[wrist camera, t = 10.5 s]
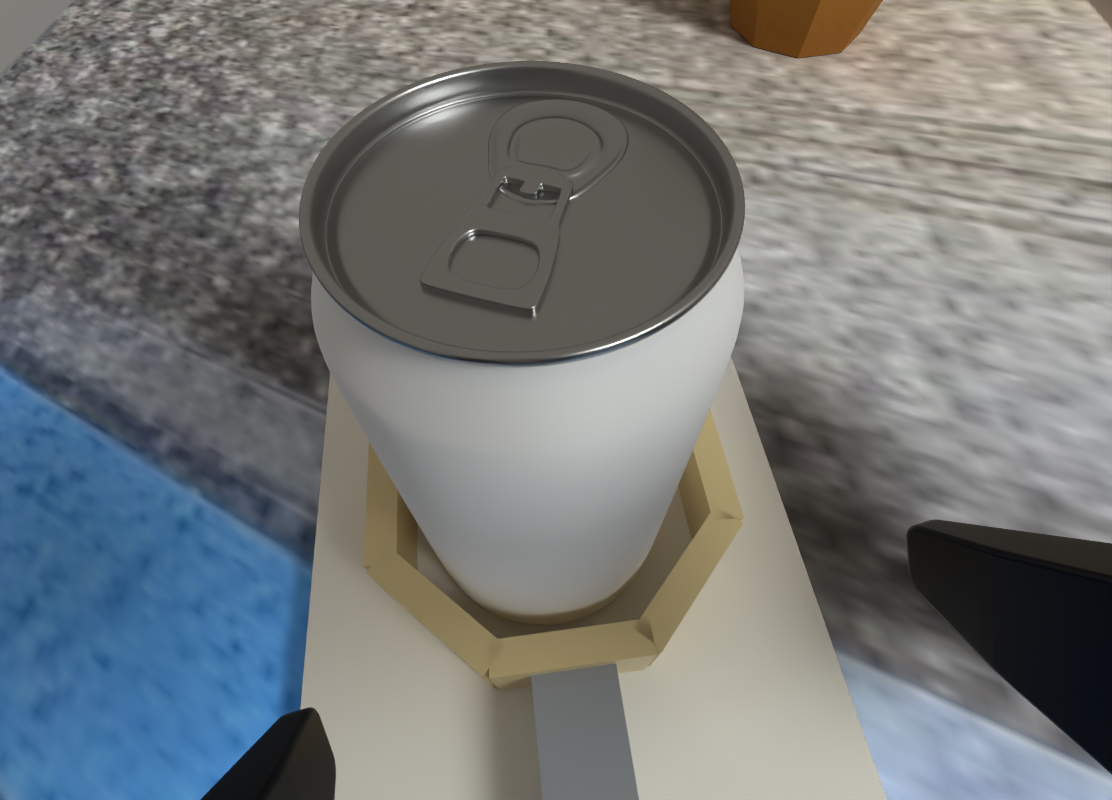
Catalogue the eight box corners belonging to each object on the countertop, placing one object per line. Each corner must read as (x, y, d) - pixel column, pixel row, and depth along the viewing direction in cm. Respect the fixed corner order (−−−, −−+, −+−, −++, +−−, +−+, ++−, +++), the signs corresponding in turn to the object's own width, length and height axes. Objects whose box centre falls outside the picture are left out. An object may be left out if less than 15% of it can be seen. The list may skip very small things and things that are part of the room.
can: (672, 452, 19) (806, 83, 9) (622, 662, 16) (741, 473, 5) (483, 400, 20) (401, 17, 10) (399, 587, 17) (144, 310, 6)
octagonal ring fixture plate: (954, 1052, 12) (1077, 1142, 9) (278, 1178, 12) (179, 1320, 9) (675, 228, 26) (690, 157, 23) (349, 260, 25) (319, 192, 22)
